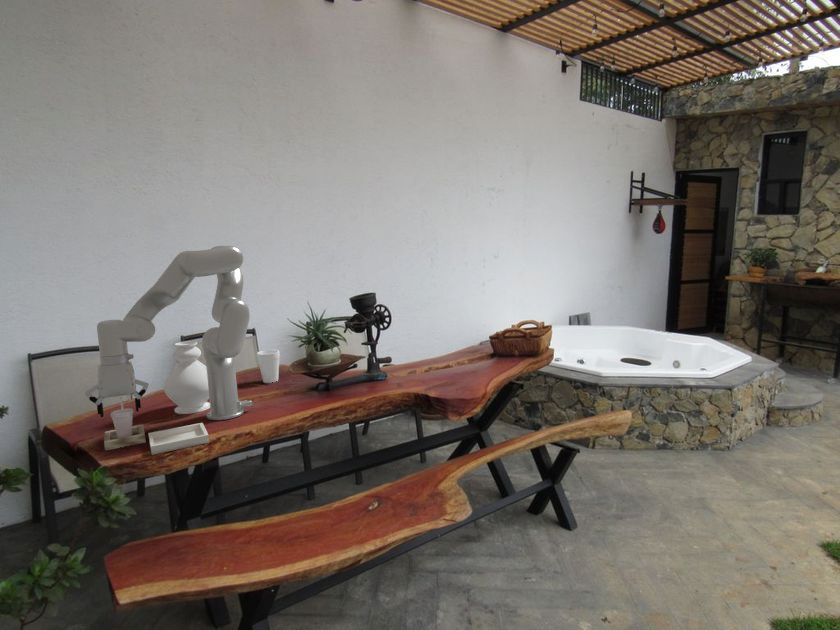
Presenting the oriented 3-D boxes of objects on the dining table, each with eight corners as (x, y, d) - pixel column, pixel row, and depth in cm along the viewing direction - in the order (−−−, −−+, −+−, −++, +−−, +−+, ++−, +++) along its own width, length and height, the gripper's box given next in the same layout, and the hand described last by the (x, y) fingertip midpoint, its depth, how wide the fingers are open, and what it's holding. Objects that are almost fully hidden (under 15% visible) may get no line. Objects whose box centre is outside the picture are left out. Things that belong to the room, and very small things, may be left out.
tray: (203, 429, 174) (202, 422, 173) (209, 442, 162) (208, 434, 162) (149, 440, 166) (148, 433, 165) (151, 454, 155) (150, 446, 154)
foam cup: (277, 376, 237) (275, 348, 235) (284, 381, 229) (282, 352, 227) (256, 380, 231) (253, 352, 229) (263, 385, 224) (261, 355, 222)
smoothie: (140, 436, 170) (135, 394, 167) (130, 444, 163) (125, 401, 161) (120, 437, 169) (115, 395, 167) (109, 445, 163) (104, 401, 161)
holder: (144, 431, 174) (143, 424, 173) (145, 442, 164) (144, 434, 164) (105, 439, 168) (104, 431, 168) (105, 450, 159) (104, 442, 159)
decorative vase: (161, 408, 197) (153, 343, 194) (209, 397, 209) (203, 336, 205) (174, 420, 184) (166, 350, 180) (225, 408, 195) (219, 342, 191)
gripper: (145, 354, 170) (150, 405, 172) (82, 361, 161) (88, 414, 164) (146, 358, 163) (151, 411, 166) (80, 366, 155) (87, 421, 157)
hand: (120, 413), depth 165 cm, fingers open, 9 cm apart
